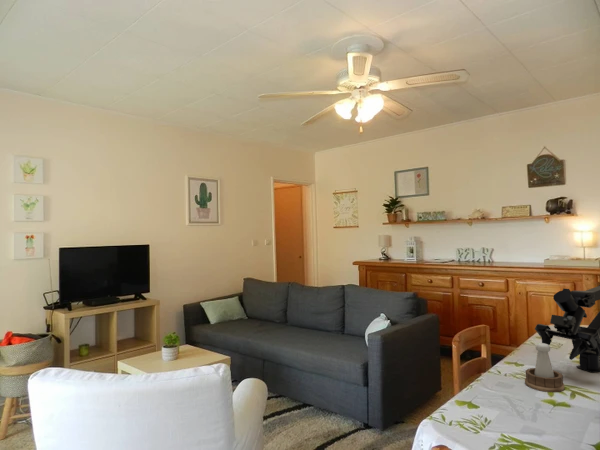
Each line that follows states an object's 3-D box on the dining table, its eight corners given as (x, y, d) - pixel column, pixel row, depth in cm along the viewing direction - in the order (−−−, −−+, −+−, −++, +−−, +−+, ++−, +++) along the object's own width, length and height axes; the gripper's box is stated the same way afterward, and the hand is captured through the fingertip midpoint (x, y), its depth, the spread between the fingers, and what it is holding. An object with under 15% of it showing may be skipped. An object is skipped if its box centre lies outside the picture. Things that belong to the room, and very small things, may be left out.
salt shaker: (558, 384, 134) (556, 345, 134) (543, 385, 133) (541, 346, 134) (545, 378, 140) (543, 341, 140) (531, 379, 139) (529, 342, 139)
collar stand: (542, 377, 144) (542, 365, 144) (573, 389, 132) (572, 376, 133) (517, 381, 140) (516, 370, 140) (545, 394, 129) (545, 381, 129)
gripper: (536, 302, 151) (520, 336, 146) (591, 310, 135) (575, 349, 130) (549, 320, 155) (533, 353, 150) (604, 330, 139) (589, 368, 133)
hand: (556, 355), depth 141 cm, fingers open, 9 cm apart
